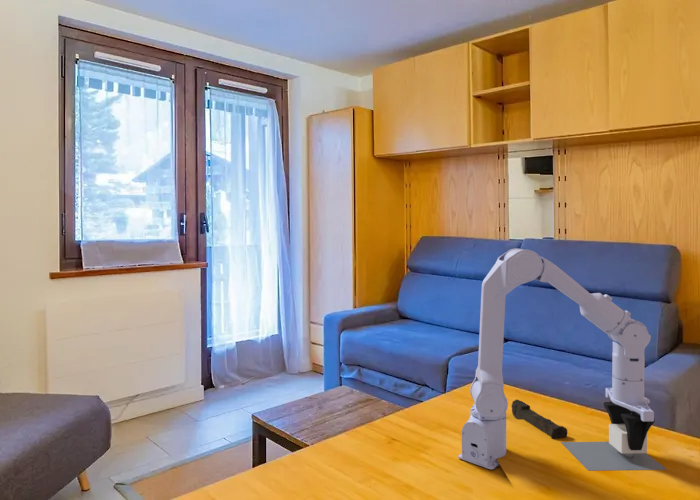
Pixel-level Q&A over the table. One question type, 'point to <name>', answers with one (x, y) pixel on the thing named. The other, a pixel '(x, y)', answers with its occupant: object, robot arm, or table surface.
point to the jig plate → (609, 457)
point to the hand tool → (537, 420)
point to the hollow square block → (622, 439)
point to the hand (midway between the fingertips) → (627, 443)
